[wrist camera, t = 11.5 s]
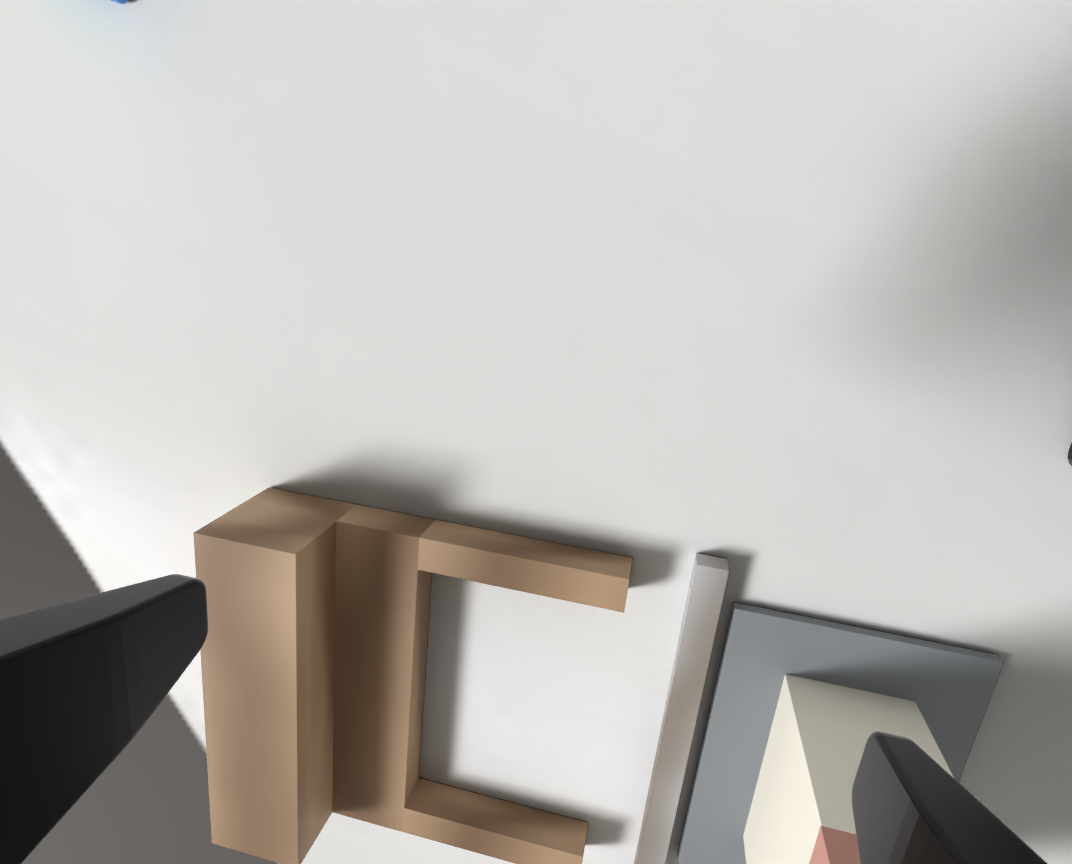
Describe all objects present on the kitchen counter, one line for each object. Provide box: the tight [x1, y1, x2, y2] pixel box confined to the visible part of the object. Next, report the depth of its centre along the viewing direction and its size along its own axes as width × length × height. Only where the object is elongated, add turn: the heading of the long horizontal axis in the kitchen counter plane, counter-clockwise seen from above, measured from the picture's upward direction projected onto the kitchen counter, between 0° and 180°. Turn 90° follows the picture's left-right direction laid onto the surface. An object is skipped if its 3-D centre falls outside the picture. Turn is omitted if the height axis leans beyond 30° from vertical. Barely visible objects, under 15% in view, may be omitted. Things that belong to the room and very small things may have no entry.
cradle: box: [194, 488, 729, 864], centre depth 23 cm, size 16×14×4 cm
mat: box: [678, 602, 1004, 864], centre depth 22 cm, size 8×11×1 cm
